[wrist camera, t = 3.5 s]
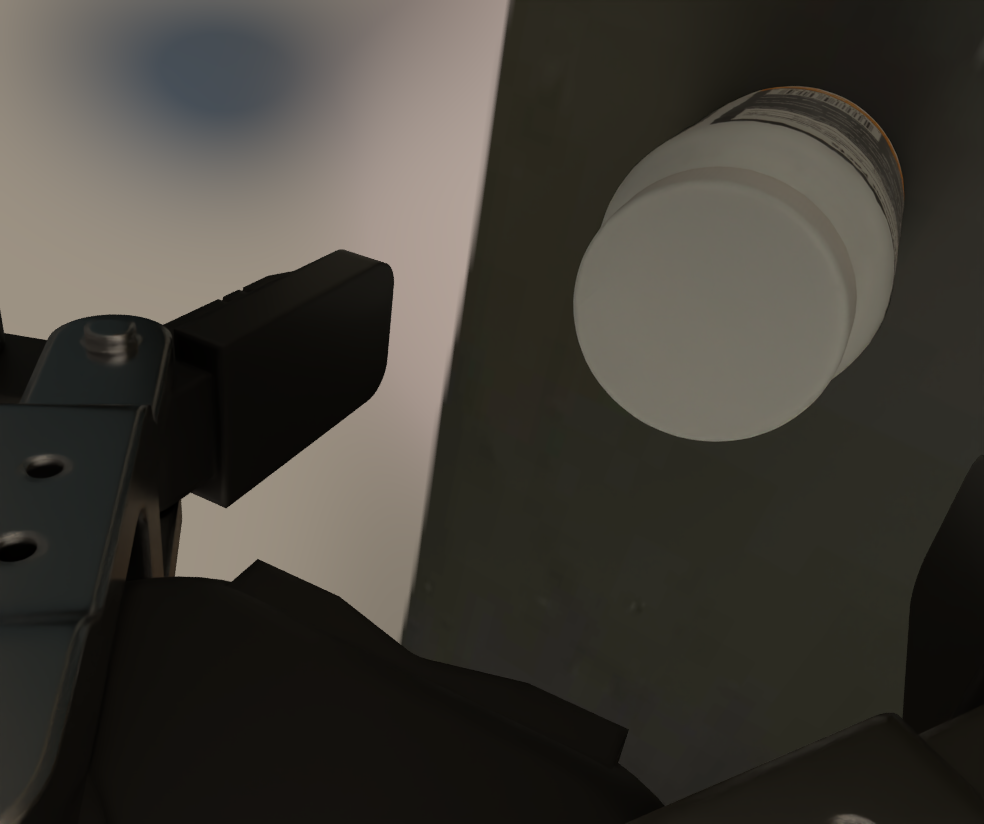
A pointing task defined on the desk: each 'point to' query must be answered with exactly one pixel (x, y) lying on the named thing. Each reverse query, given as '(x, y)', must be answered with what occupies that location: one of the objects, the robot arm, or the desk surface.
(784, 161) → the pill bottle
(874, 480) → the desk surface
